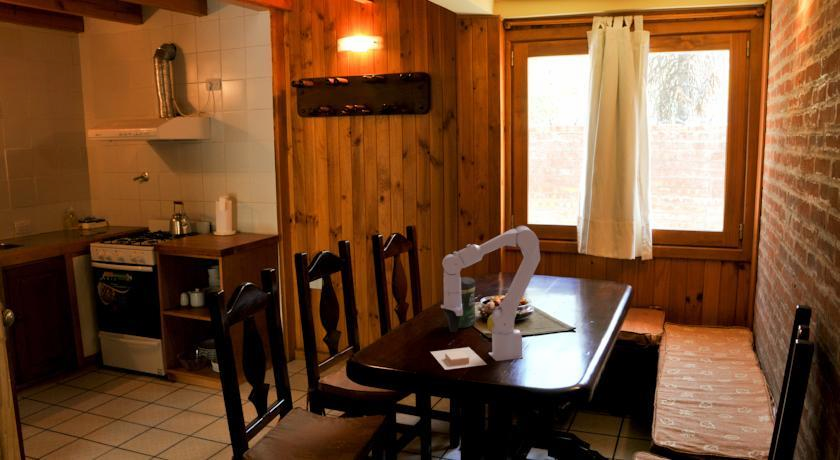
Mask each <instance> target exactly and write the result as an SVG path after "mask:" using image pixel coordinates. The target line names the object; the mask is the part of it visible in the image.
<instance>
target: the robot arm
mask: <svg viewBox="0 0 840 460" xmlns="http://www.w3.org/2000/svg"><path fill="white" fill-rule="evenodd" d="M505 246H507V247H515V248H516V247H517V246H518V247H519V248H520V252H521V253H522V256H523V259H522V261H521V263H520V265H519V267H518V269H517V271H516V273H515V274H514V276H513V277H514V278H513V280H512V282H511V283H510V286H509V288H508V290H507V292H506V294H505V297H504V298H503V299H502V301H501V302H500V304H499V305H498V307H497V308H495V309H494V310H493V311H492V313H491V315H492V321H493V323H494V324H495V325H494V327H493V328H492V332H491V341H492V342H491V343H492V349H491V350H492V351H491V352H488V355H489V356H490V357H492V358H493V360H495V361H496V362H498V361H506V360H516V359H523V358H524V356H523V336H522V332H521V330H520V329H518V328H516V329H514V327H515V320H516V319H515V318H516V317H517V312H518V307H519V304H520V303H521V300H522V299H523V297H524V295H525V293H526V290H527V288H528V287H529V284H530V283H531V280H532V278H533V276H534V274H535V271H536V269H537V267H538V265H539V264H540V262H541V252H540V251H541V250H540V239H539V238H538V236H537V234H536V233H535V232H534V231H533V230H531V229H530V228H529V227H528V226H525V225H519V226H517V227H516V228H511V229H509V230H507V231H505V232H503V233H501V234H499V235H497V236H495V237H493V238H491V239H489V240H488V241H486V242H484V243H482V244H480V245H477V244H475V243H474V244H471V243H469V244H467V245H466V247H465V248H462V249H460V250H458V251H456V250H455V251H453V254H451V253H449V254H447V255H445V256H444V258H443V259H442V262H441V265H442V267H443V281H442V282H443V304H440V308H441V309H444V310H443V313H444V315H445V318H446V320H447V324H448V328H449V332H450V333H457V332H458V331H459V328H458V326H459V321H460V319H461V316H462V315H463V310H462V300H461V278H462V277H461V271H462V269H465V268H467V267H469V266H472V265H474V264H476V263H477V262H480V261H482V259H483V256H485V255H486V254H489V253H491V252H493V251H496V250H498V249H500V248H503V247H505Z"/></svg>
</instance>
